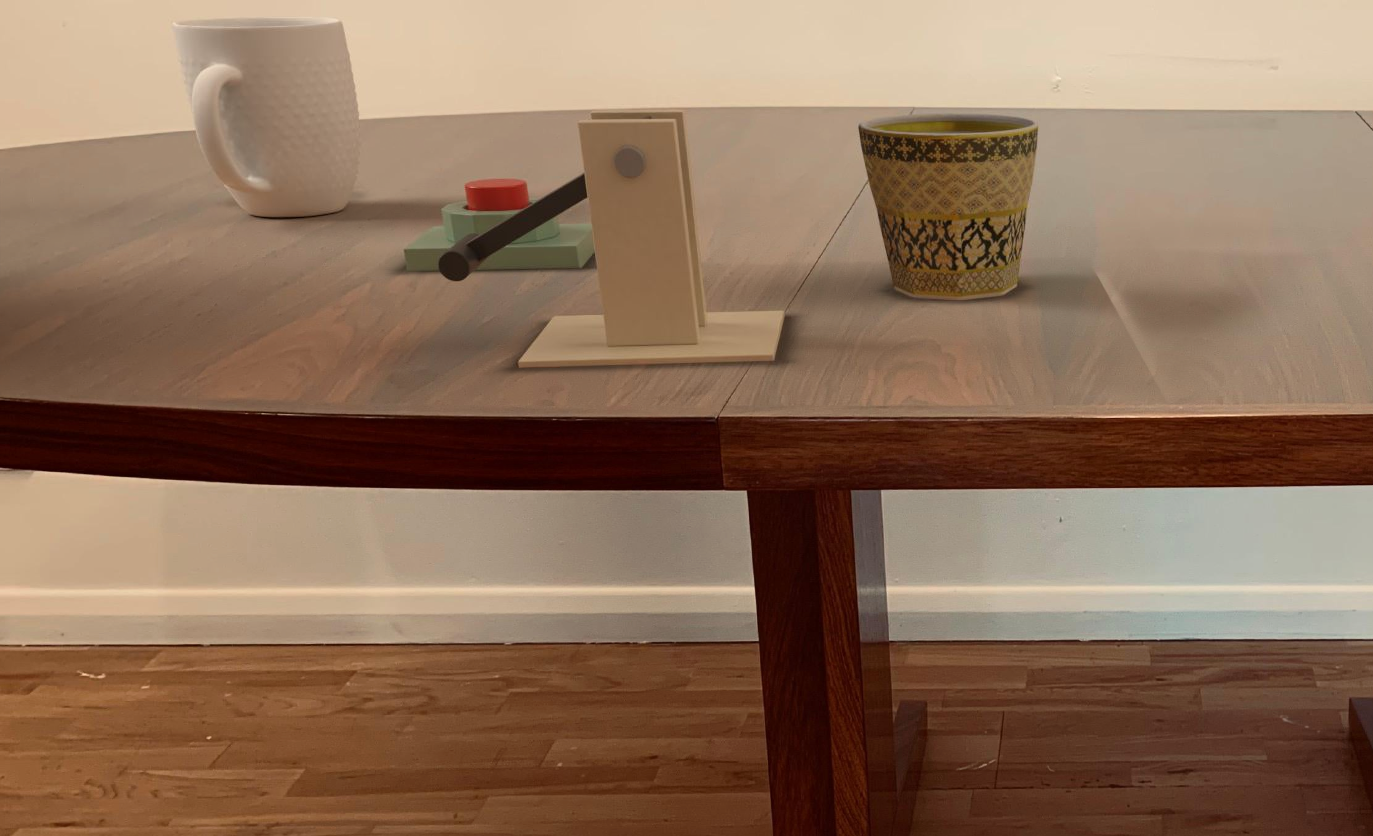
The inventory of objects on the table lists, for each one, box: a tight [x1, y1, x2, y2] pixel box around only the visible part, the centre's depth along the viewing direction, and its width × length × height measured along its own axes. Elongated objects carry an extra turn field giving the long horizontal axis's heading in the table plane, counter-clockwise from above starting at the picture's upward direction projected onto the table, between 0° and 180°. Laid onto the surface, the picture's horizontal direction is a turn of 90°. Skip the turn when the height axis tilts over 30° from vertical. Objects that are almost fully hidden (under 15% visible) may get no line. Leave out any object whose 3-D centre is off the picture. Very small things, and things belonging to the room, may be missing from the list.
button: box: [464, 178, 530, 211], centre depth 107 cm, size 4×4×2 cm
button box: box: [403, 197, 595, 272], centre depth 108 cm, size 10×8×4 cm
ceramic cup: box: [858, 112, 1039, 301], centre depth 100 cm, size 13×10×10 cm
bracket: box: [517, 108, 786, 369], centre depth 86 cm, size 12×10×12 cm
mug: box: [172, 16, 361, 218], centre depth 124 cm, size 15×11×13 cm
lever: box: [438, 116, 652, 282], centre depth 85 cm, size 12×5×2 cm, turn 99°
